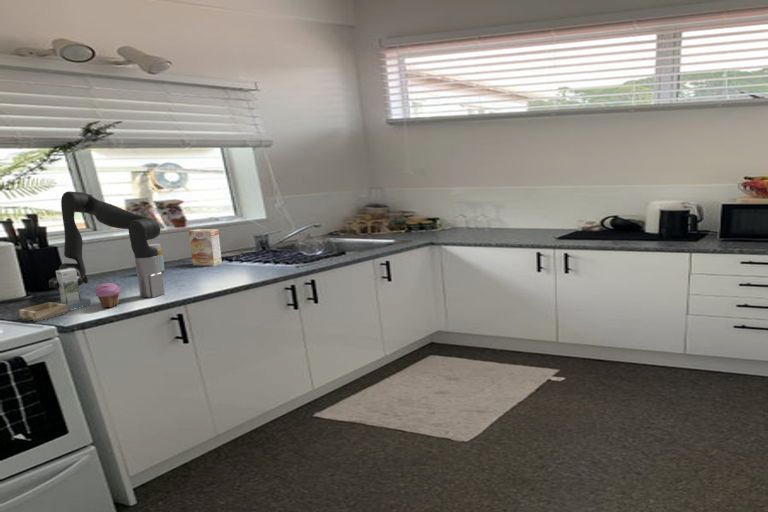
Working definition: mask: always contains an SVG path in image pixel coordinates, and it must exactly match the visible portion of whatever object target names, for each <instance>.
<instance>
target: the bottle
mask: <svg viewBox="0 0 768 512" xmlns="http://www.w3.org/2000/svg"><path fill="white" fill-rule="evenodd" d="M148 245H149V246H150V247H152V248H156V249H157V250H158V256H159V264H160V272H161V273H162V274H163V273H165V271H166V270H165V263H164V262H165V261H164V255H163V251H162V245H161V243H151V244H148Z"/></svg>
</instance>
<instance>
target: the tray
mask: <svg viewBox="0 0 768 512" xmlns="http://www.w3.org/2000/svg"><path fill="white" fill-rule="evenodd" d="M17 311H18V316H19V320H24V319H26V320H25V321H30V320H33V321H32V322H35V321H38V322H40V321H39V320H42V321H44V320H43V319H45V320H48V319H47V318H49V319H51V318H50V317H52V318H55V317H54V316H56V317H58V316H57V315H60V314H63V313H67V312H68V313H69V311H67V305H66V304H59V303H54V302H52V301H48V302H44V303H39V304H36V305H32V306H28V307H24V308H20V309H18V310H17ZM68 313H67V314H68ZM63 315H64V314H63ZM60 316H61V315H60Z"/></svg>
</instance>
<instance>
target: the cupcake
mask: <svg viewBox="0 0 768 512" xmlns="http://www.w3.org/2000/svg"><path fill="white" fill-rule="evenodd" d="M120 293H121V288H120V286H119V285H118V284H115V283H114V282H105V283H101V284H98V285H97V286H96V288H95V296H96V297H97V299H98V300H99V303H100V304H101V306H102V308H104V307H112V308H114V307H116V306H115V305H117V306H118V305H119V296H120V295H119V294H120ZM113 306H114V307H113Z"/></svg>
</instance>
